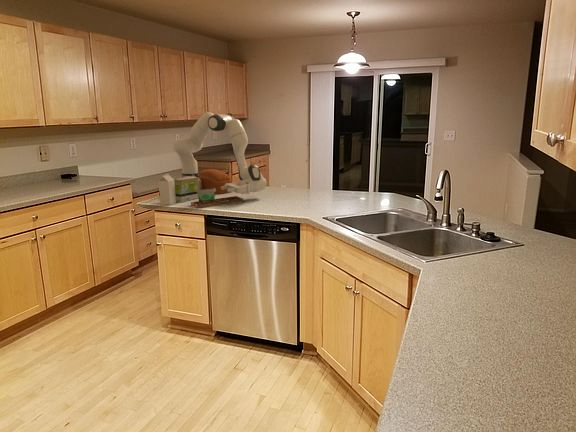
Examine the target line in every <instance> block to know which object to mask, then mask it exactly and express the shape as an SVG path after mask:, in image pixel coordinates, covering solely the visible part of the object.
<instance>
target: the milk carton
mask: <svg viewBox="0 0 576 432" xmlns="http://www.w3.org/2000/svg"><path fill="white" fill-rule="evenodd" d="M158 191H159V202H160V205H162V206H172V205H175V204H176V203H177V201H176V195H175V182H174V179H173V177H172V176H171V175H170V173H166V174H163V175H162V176H161V178H159V180H158Z"/></svg>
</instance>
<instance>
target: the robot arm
mask: <svg viewBox="0 0 576 432" xmlns="http://www.w3.org/2000/svg"><path fill="white" fill-rule="evenodd" d="M211 131H215V132H224V131H225V132H227V134H228V136H229V137H228V138H229V139H230V142H231V145H232V148H233V155H234V158H235V162H236V165H237V169H238V178H239V180H238V181H239V182H232V183H226V184H225V186H222V187H221V189H222V190H223V189H227V191H228V192H230V193H232V192H233V193H236V194H242V195H243V194H247V195H248V194H250V193H258V192H262V191H264V190H265V189H266V188H267V185H268V184H267V180H266V178H264V176H263V174H262V172H261V169H260V167H259V166H258V165H256V164H250V165H247V162H246V158H245V151H246V148H247V146H248V144H249V139H248V135H247V133H246V129H245V128H244V125H243V124H242V122H241V121H240V119H238V118H234V116H233V115H231V114H227V113H218V114H214V113H213V112H210V111H206V112H205V113H204V114H202V115H201V116H200V117H199V118H198V119H197V120H196V122H195V123H194V124H193V125H192V127H191V129H190V134H189V136H188V137H183V138H181V137H180V138H178V139H176V140H175V141H173V143H172V148H173V151H174V152H175V153H176V154H177V155H178V157H179V160H180V164H181V176H180V177H187V176H192V177H198V183H199V190H203V189H202V185H201V180H200V179H199V173H200V172H199V169H198V168H199V167H198V161H197V160H196V159H195V158H194V155H193V153H197V152H199V151H201V150H202V148H203V146H204V144H203V143H204V140H205V139H206V138H207V136H208V135H209V134H210V133H211Z"/></svg>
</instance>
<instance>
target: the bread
mask: <svg viewBox="0 0 576 432" xmlns="http://www.w3.org/2000/svg"><path fill="white" fill-rule="evenodd" d="M198 173H199V179H200V180H201V185H202V189H214V188H215V189H216V192H215V195H224V194H229V193H231V192H228V191H227V189H223V190H222V189H221V187H222V186H225V184H226V183H233V182H232V181H231V176H229V175H228V174H226V173H225V172H223V171H221V170H220V169H219V170H218V169H215V168H214V169H213V168H210V169H203V170H202V171H200V172H198Z"/></svg>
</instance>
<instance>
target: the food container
mask: <svg viewBox="0 0 576 432" xmlns="http://www.w3.org/2000/svg"><path fill="white" fill-rule="evenodd" d="M196 192H197V193H198V199H197V200H198V201H199V204H207V203H214V202H215V199H216V193H215V192H216V189H215V188H214V189H203V190H199V189H197V190H196Z"/></svg>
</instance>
